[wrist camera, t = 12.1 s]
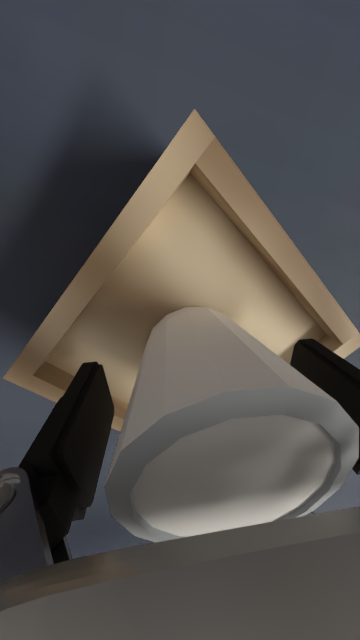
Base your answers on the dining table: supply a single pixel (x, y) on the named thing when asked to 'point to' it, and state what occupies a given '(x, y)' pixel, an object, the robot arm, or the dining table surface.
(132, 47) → the dining table surface
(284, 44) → the dining table surface
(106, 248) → the birch tray
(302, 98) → the dining table surface
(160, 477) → the shot glass
